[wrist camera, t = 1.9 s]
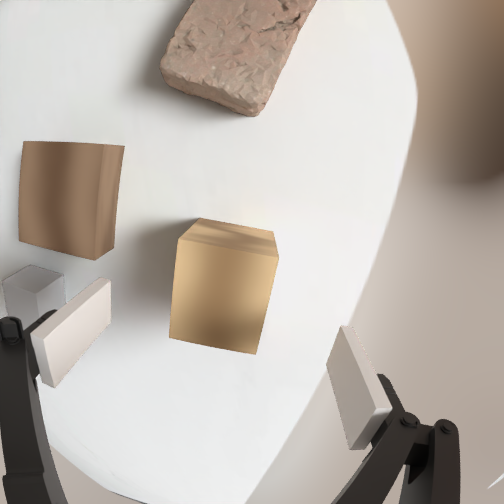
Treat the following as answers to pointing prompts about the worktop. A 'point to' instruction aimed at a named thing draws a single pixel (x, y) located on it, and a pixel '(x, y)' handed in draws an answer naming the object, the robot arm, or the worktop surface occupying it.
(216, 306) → the oak block
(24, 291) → the grey block
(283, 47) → the brick
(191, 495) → the worktop surface
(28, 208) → the walnut block
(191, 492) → the worktop surface
